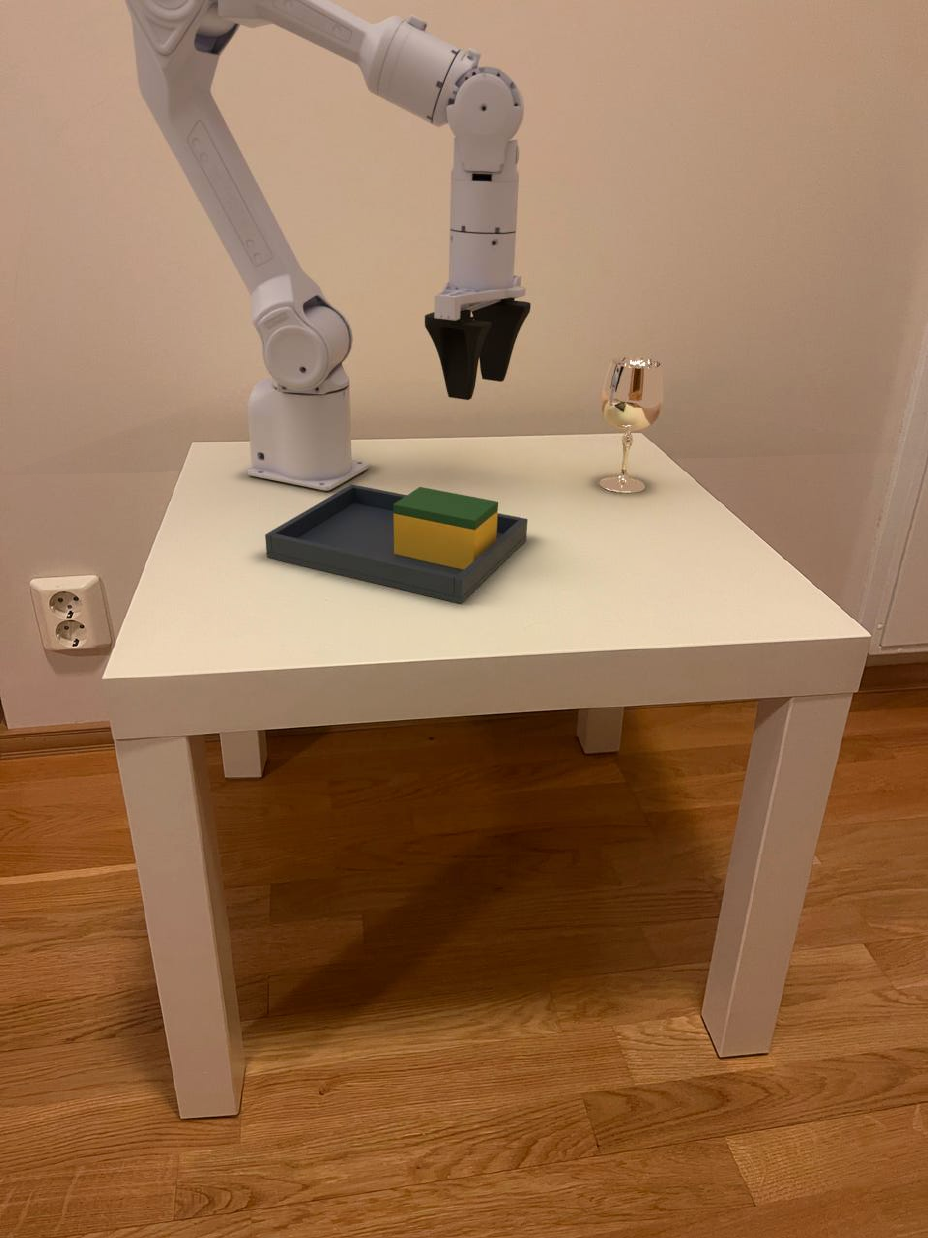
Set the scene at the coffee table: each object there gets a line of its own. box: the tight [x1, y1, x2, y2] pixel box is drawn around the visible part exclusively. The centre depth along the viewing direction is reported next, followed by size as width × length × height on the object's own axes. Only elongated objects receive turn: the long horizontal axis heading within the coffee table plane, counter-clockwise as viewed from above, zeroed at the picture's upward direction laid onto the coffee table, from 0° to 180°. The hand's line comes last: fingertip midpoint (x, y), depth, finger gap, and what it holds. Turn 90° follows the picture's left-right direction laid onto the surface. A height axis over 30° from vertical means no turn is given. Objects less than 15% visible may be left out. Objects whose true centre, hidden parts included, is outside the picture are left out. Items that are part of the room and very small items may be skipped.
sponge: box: [394, 486, 499, 570], centre depth 72 cm, size 7×4×4 cm, turn 65°
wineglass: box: [599, 356, 665, 494], centre depth 87 cm, size 6×6×12 cm
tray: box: [264, 484, 528, 605], centre depth 74 cm, size 17×13×2 cm
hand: (477, 388), depth 84 cm, fingers open, 7 cm apart
